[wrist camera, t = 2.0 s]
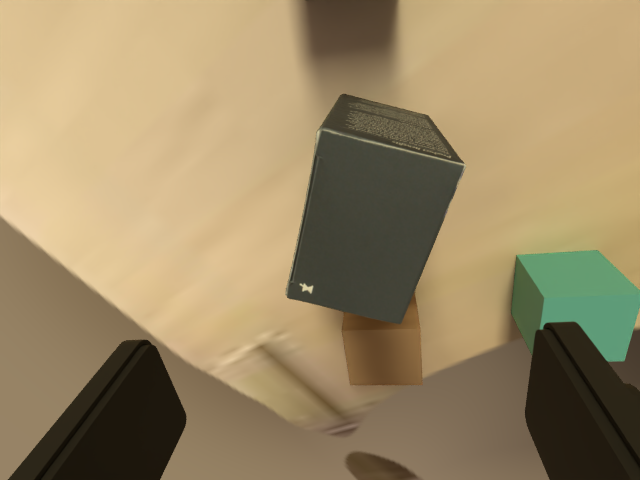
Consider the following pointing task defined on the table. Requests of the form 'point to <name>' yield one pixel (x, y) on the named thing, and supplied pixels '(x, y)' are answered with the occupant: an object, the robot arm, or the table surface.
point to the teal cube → (576, 298)
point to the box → (372, 209)
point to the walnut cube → (383, 349)
